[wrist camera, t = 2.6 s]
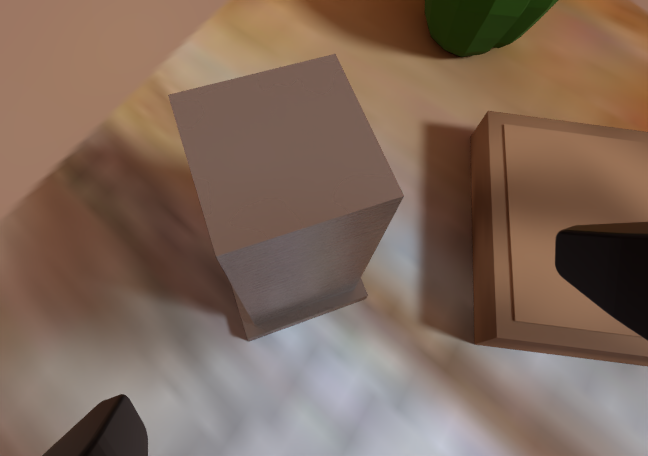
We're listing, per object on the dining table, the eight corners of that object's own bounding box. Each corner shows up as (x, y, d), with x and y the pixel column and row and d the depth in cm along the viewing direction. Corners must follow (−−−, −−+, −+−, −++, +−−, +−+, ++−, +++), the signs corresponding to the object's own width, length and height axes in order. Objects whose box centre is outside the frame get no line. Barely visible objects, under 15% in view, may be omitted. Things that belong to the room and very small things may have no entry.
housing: (365, 299, 21) (429, 206, 11) (249, 341, 20) (200, 282, 10) (323, 196, 23) (344, 37, 13) (215, 230, 22) (146, 85, 12)
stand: (716, 374, 21) (771, 371, 18) (474, 344, 21) (497, 337, 18) (669, 163, 25) (708, 138, 23) (470, 137, 25) (488, 109, 23)
